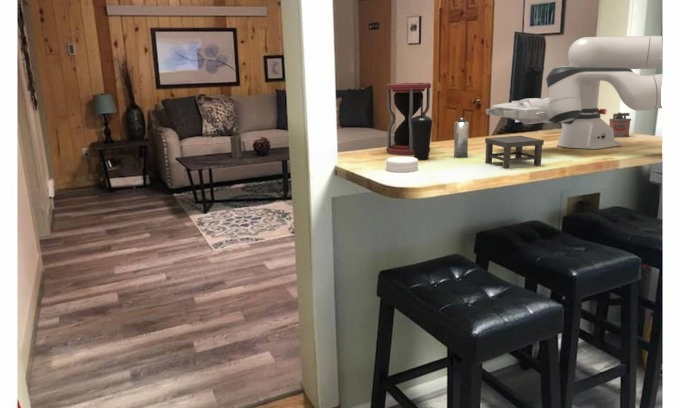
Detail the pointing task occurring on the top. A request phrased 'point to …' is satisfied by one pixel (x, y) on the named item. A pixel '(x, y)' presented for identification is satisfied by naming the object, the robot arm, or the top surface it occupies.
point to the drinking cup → (421, 135)
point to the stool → (518, 143)
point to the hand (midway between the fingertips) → (494, 112)
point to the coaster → (402, 164)
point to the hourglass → (405, 114)
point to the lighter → (620, 125)
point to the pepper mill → (461, 138)
